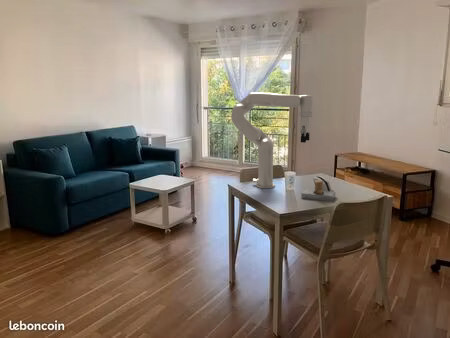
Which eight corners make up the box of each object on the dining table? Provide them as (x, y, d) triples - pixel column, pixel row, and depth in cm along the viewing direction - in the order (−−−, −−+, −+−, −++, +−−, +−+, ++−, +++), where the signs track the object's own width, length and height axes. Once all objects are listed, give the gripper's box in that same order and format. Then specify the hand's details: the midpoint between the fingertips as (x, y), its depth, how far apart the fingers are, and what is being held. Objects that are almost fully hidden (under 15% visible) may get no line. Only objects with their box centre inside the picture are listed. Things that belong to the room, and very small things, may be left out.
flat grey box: (301, 198, 222) (301, 193, 222) (305, 193, 231) (305, 189, 231) (332, 201, 215) (332, 196, 214) (335, 196, 224) (335, 191, 223)
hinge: (334, 193, 231) (330, 178, 229) (328, 196, 231) (323, 181, 228) (322, 186, 247) (317, 172, 245) (315, 189, 247) (311, 175, 244)
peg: (314, 198, 222) (315, 181, 220) (315, 196, 226) (316, 180, 223) (321, 198, 220) (322, 182, 218) (322, 196, 224) (323, 180, 222)
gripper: (303, 113, 246) (302, 139, 250) (296, 115, 231) (295, 143, 235) (314, 113, 243) (313, 139, 247) (308, 115, 228) (307, 143, 232)
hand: (305, 141), depth 241 cm, fingers open, 9 cm apart
